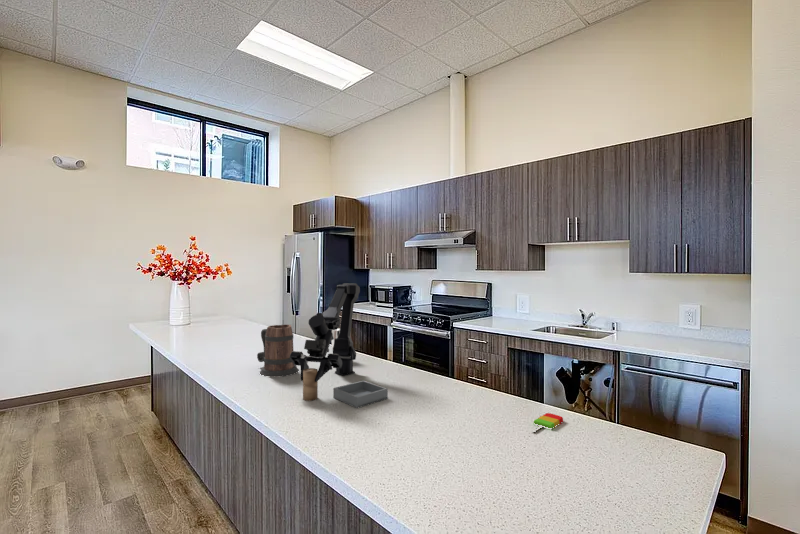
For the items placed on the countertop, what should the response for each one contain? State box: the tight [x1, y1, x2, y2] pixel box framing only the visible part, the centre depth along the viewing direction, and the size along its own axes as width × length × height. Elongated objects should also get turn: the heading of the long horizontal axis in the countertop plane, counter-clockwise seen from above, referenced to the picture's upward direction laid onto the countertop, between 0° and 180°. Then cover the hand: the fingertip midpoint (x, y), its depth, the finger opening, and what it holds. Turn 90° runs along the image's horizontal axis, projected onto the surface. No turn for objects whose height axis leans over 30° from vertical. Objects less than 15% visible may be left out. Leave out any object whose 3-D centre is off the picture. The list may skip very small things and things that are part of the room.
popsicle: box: [533, 412, 564, 428], centre depth 119 cm, size 6×15×2 cm, turn 135°
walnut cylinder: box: [302, 367, 319, 402], centre depth 141 cm, size 5×5×10 cm
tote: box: [332, 380, 389, 409], centre depth 142 cm, size 14×14×4 cm
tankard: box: [256, 324, 300, 377], centre depth 178 cm, size 24×17×20 cm
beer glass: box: [330, 327, 340, 349], centre depth 198 cm, size 7×7×15 cm
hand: (308, 380), depth 140 cm, fingers closed on walnut cylinder, 5 cm apart
